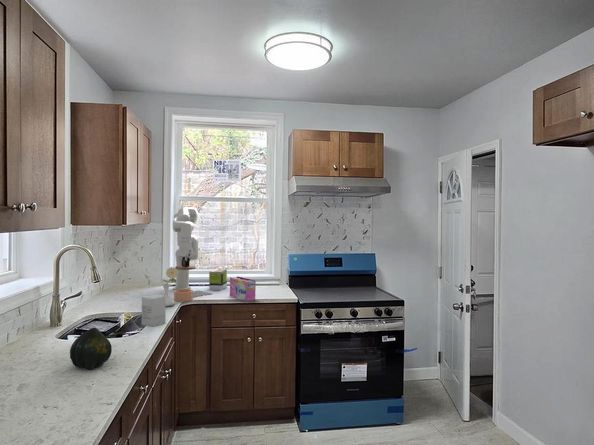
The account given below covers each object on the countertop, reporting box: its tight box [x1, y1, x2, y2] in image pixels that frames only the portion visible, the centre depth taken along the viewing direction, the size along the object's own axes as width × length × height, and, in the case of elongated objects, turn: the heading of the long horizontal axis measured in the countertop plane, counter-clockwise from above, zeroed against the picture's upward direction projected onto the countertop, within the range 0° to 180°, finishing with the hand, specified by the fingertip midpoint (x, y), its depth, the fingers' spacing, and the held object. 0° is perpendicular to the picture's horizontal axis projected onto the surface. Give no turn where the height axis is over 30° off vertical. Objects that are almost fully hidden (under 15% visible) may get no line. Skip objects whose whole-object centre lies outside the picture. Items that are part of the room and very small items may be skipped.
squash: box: [69, 327, 113, 370], centre depth 161 cm, size 14×15×15 cm
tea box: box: [208, 268, 228, 291], centre depth 326 cm, size 15×10×15 cm, turn 172°
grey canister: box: [141, 294, 166, 328], centre depth 221 cm, size 9×9×15 cm
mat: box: [193, 290, 213, 298], centre depth 302 cm, size 17×17×1 cm
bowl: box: [173, 288, 194, 302], centre depth 283 cm, size 12×12×6 cm
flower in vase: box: [162, 266, 178, 307], centre depth 264 cm, size 13×11×25 cm
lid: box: [174, 259, 197, 271], centre depth 285 cm, size 14×14×6 cm
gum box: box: [229, 276, 257, 302], centre depth 292 cm, size 24×8×14 cm, turn 40°
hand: (185, 266), depth 285 cm, fingers closed on lid, 3 cm apart
